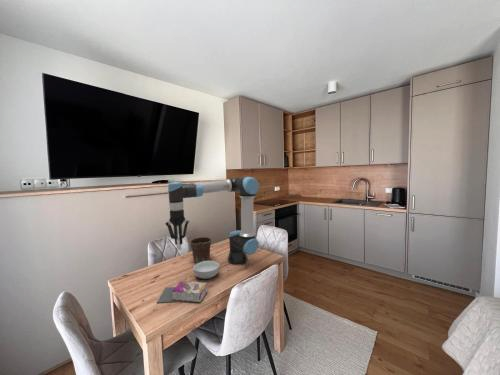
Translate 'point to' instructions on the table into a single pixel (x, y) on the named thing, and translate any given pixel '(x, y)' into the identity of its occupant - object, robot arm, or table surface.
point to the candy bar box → (189, 291)
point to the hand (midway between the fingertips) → (179, 249)
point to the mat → (167, 296)
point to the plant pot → (201, 249)
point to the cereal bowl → (206, 269)
